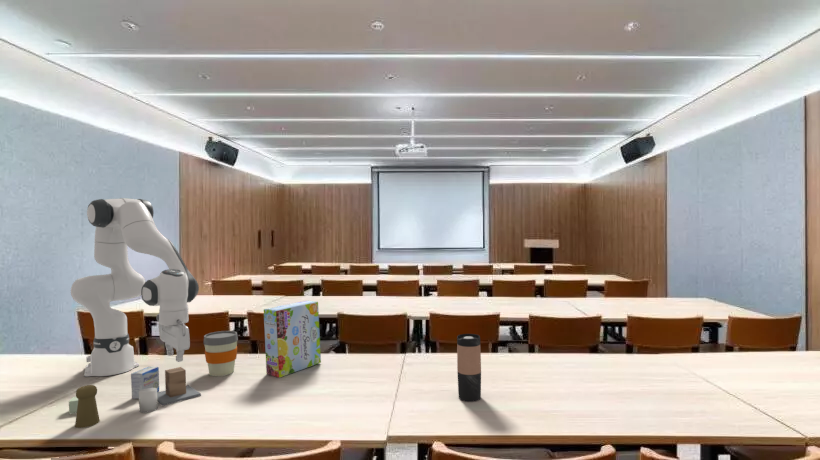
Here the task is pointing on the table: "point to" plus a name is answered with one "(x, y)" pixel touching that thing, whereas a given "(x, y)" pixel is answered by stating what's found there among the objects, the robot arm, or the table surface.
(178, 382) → the walnut block
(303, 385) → the table surface
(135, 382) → the medicine box
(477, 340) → the travel mug
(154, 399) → the white smooth pebble
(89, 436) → the table surface
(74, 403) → the sage green block
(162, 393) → the slate mat
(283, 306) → the snack box
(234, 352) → the reusable coffee cup
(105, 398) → the table surface
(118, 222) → the robot arm
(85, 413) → the cork
